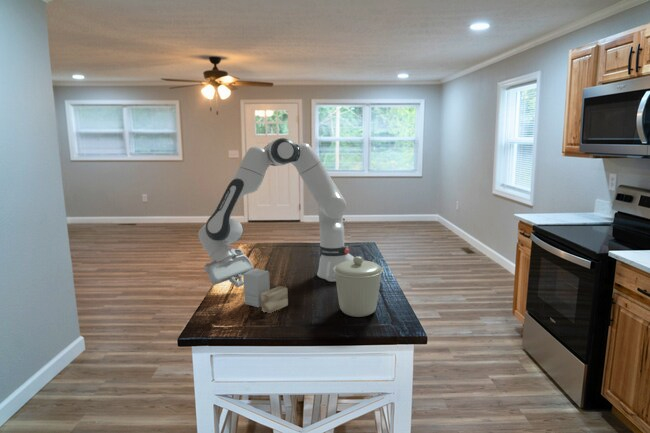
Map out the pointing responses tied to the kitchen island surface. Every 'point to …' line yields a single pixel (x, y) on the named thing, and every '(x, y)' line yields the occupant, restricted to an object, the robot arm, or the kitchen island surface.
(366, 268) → the canister
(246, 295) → the supplement box
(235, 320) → the kitchen island surface
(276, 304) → the block
